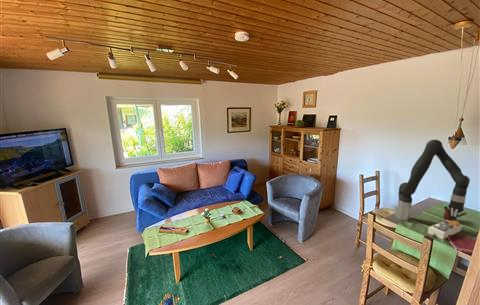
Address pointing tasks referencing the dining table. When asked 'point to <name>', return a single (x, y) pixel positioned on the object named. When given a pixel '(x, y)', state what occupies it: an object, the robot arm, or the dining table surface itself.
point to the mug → (447, 215)
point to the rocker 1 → (442, 227)
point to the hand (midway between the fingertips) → (453, 220)
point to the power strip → (443, 234)
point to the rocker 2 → (454, 223)
